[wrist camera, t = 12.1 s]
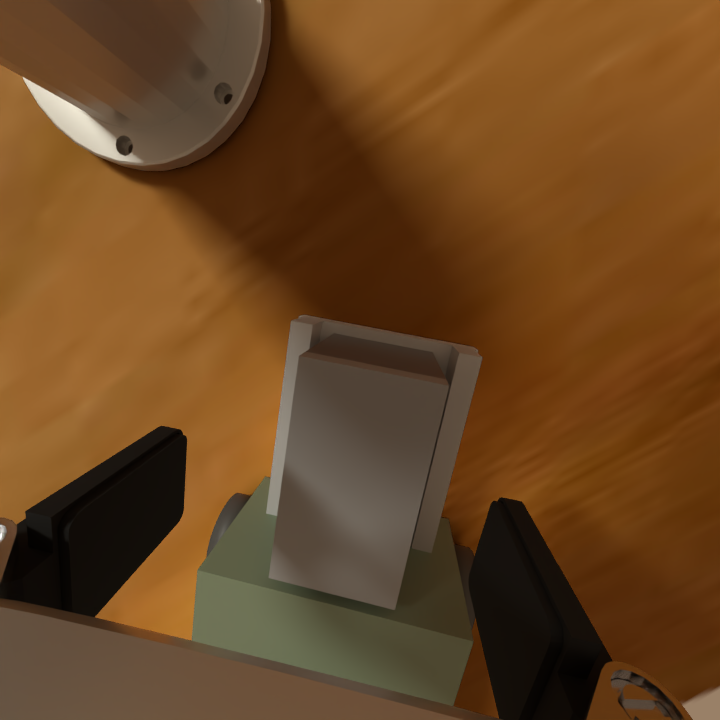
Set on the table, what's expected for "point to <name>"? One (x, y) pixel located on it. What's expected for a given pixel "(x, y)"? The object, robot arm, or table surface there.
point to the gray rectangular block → (356, 466)
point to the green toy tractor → (335, 613)
